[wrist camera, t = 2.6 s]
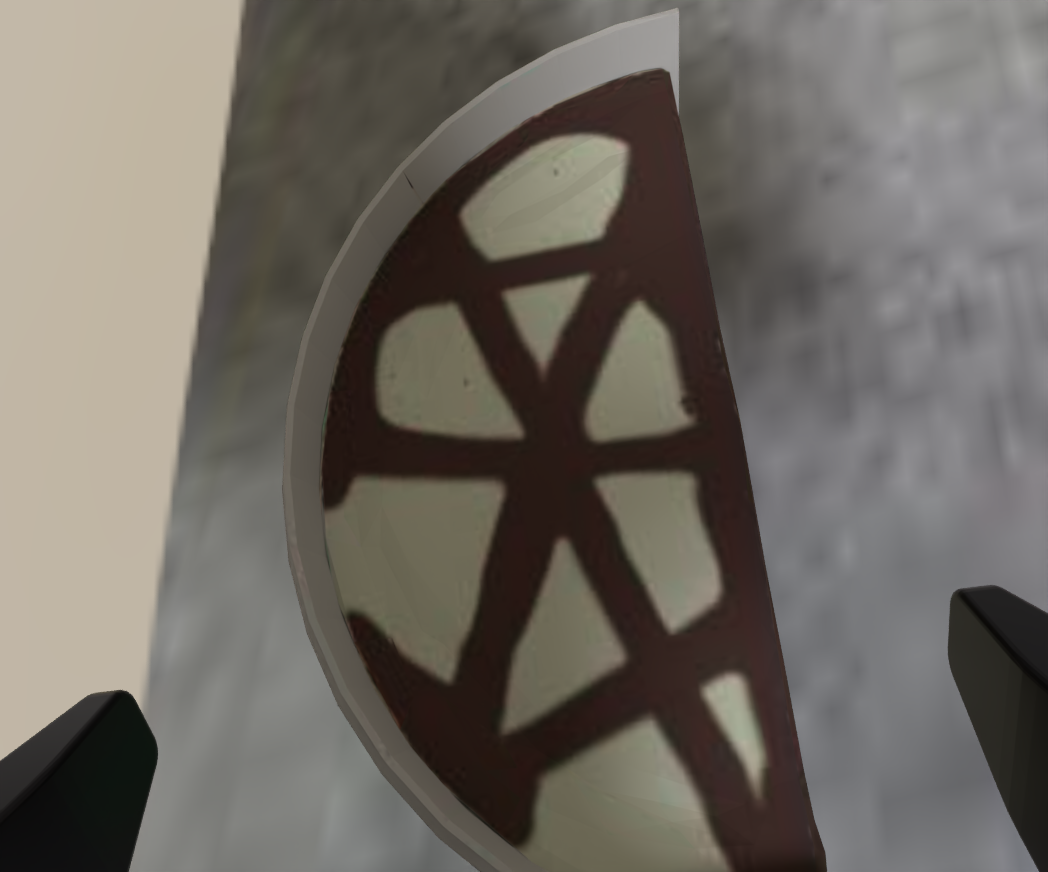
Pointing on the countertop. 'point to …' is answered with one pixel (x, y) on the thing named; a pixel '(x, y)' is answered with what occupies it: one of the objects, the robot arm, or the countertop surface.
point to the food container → (546, 492)
